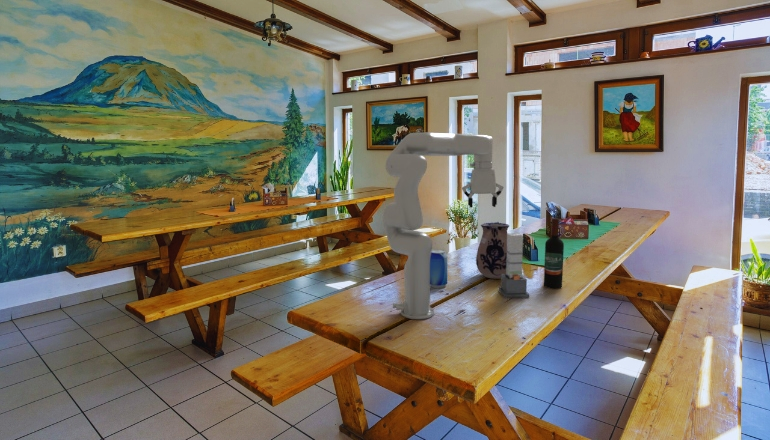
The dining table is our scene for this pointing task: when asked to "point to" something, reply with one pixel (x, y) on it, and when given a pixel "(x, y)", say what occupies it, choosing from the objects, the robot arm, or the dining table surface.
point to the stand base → (513, 287)
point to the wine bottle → (554, 258)
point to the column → (514, 254)
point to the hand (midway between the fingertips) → (482, 206)
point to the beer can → (438, 268)
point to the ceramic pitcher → (493, 250)
